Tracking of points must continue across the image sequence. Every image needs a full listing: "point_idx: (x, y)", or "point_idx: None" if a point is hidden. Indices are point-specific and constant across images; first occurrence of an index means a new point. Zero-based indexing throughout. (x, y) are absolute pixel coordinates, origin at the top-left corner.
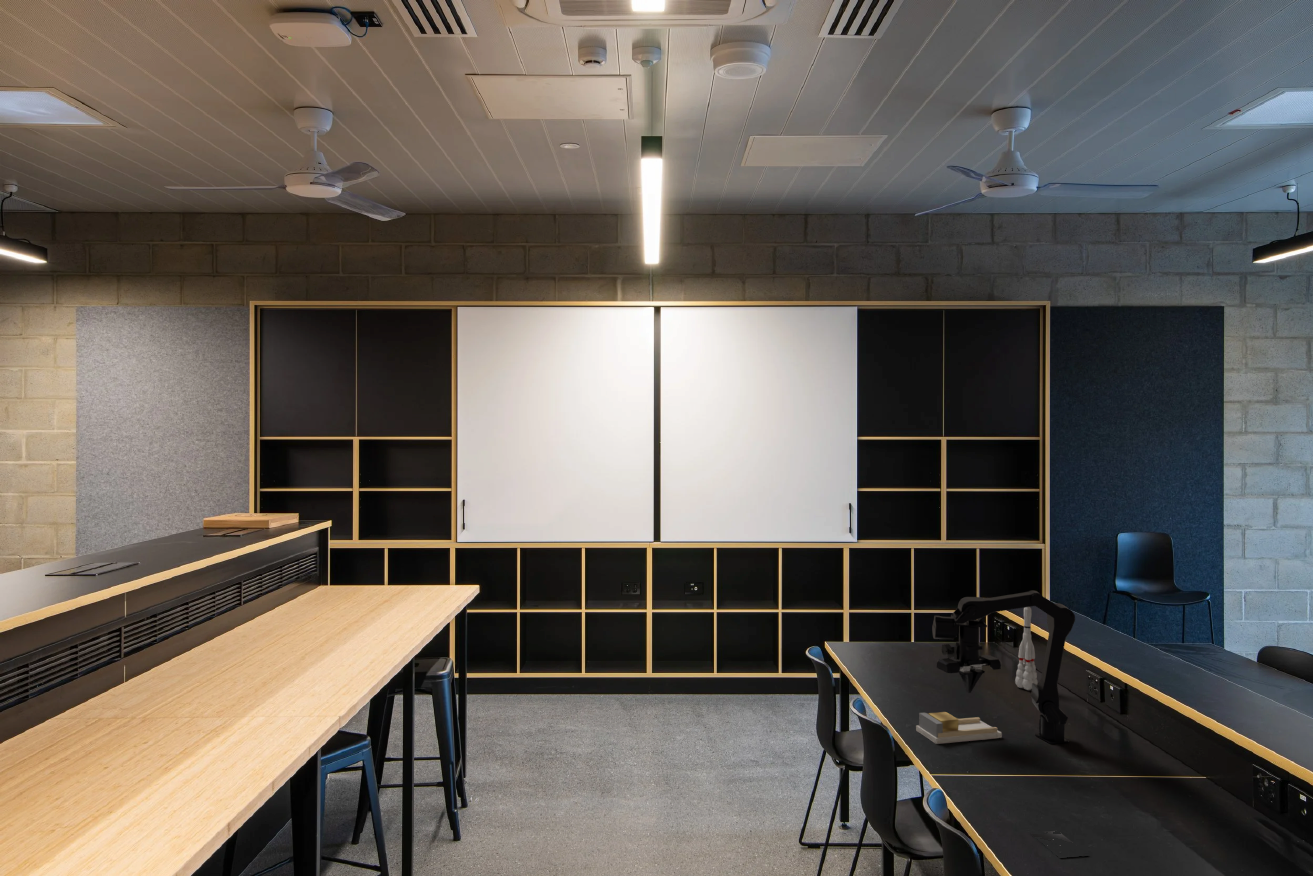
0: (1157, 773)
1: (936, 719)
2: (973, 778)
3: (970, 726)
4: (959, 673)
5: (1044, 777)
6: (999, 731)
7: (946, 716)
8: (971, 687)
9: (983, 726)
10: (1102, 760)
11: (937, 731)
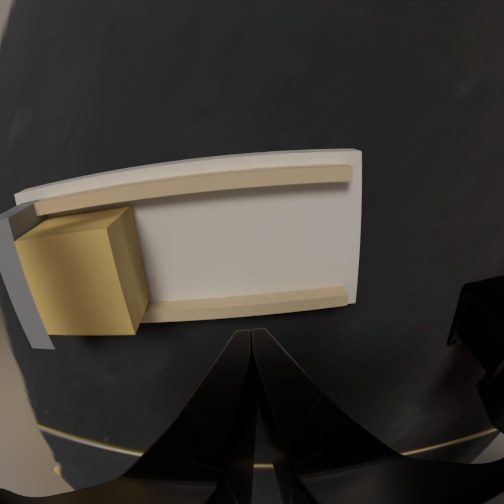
0: (475, 430)
1: (38, 305)
2: (110, 455)
3: (258, 225)
4: (113, 492)
5: (268, 470)
6: (355, 291)
7: (86, 293)
8: (262, 416)
9: (325, 232)
10: (457, 405)
11: None
